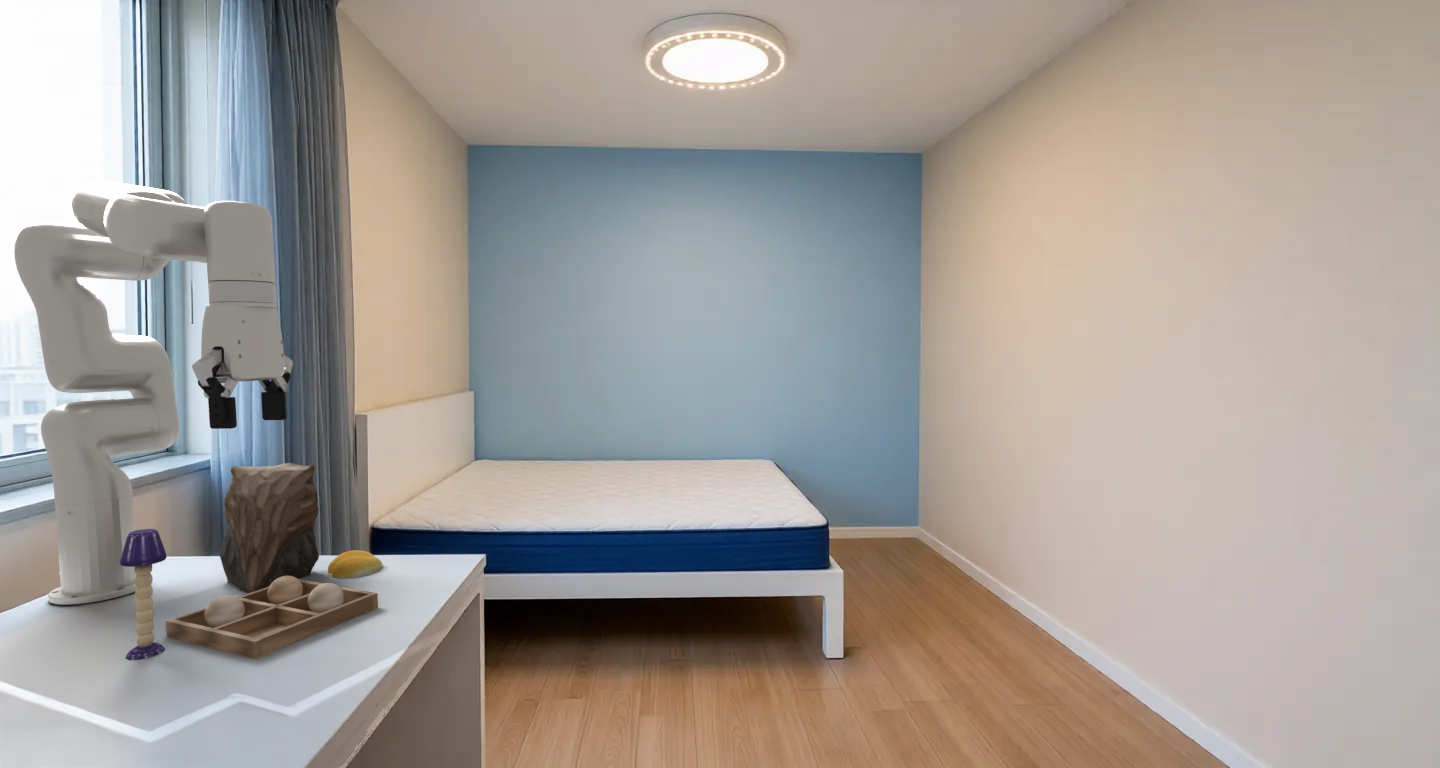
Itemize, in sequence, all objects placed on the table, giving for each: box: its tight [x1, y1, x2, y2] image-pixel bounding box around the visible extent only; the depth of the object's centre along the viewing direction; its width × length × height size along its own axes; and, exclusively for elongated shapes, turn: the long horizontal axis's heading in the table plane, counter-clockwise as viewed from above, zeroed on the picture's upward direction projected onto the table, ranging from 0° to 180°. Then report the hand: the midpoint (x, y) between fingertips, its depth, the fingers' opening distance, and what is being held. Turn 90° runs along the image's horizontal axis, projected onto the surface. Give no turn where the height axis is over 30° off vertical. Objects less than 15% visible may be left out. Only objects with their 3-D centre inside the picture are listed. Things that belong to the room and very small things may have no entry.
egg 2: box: [267, 576, 303, 605], centre depth 106 cm, size 5×5×5 cm
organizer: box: [165, 579, 379, 660], centre depth 101 cm, size 18×18×3 cm
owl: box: [219, 462, 320, 594], centre depth 120 cm, size 13×13×20 cm
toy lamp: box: [120, 528, 167, 661], centre depth 91 cm, size 5×5×17 cm
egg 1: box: [204, 594, 245, 628], centre depth 98 cm, size 5×5×5 cm
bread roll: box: [327, 549, 383, 579], centre depth 124 cm, size 8×9×4 cm
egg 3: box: [308, 582, 344, 613], centre depth 103 cm, size 5×5×5 cm
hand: (250, 423), depth 95 cm, fingers open, 9 cm apart
